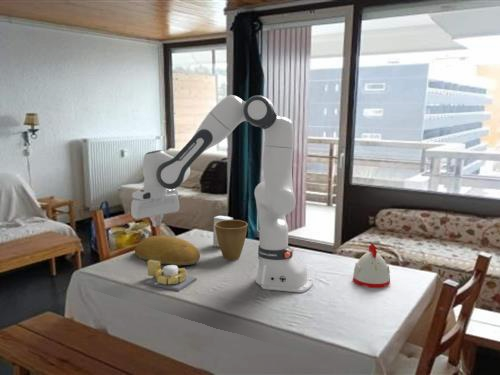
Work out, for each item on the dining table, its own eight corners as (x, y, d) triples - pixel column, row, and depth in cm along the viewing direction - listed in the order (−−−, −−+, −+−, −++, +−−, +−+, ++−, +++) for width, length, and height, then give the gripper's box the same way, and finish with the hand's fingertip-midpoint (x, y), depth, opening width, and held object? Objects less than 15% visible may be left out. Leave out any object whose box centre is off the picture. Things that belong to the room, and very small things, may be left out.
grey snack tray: (196, 280, 168) (196, 265, 167) (178, 291, 157) (178, 276, 156) (163, 273, 175) (163, 259, 174) (144, 284, 164) (143, 269, 163)
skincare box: (213, 246, 212) (212, 217, 209) (219, 243, 217) (218, 214, 214) (227, 248, 208) (227, 219, 205) (233, 245, 213) (233, 216, 211)
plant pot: (208, 257, 195) (208, 223, 193) (233, 250, 205) (233, 218, 202) (229, 265, 184) (229, 229, 182) (254, 257, 194) (254, 223, 192)
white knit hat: (357, 288, 160) (359, 249, 157) (349, 274, 173) (350, 239, 171) (394, 287, 160) (396, 249, 157) (383, 274, 173) (385, 239, 171)
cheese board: (190, 276, 168) (190, 261, 167) (174, 286, 158) (173, 270, 157) (158, 270, 175) (157, 256, 174) (140, 279, 165) (139, 264, 164)
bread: (185, 271, 178) (184, 248, 176) (126, 257, 196) (125, 236, 194) (211, 259, 193) (211, 238, 191) (154, 247, 211) (153, 227, 209)
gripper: (173, 187, 176) (174, 220, 178) (128, 194, 161) (130, 229, 164) (182, 189, 171) (183, 222, 173) (136, 196, 157) (138, 232, 159)
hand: (156, 226), depth 168 cm, fingers closed
